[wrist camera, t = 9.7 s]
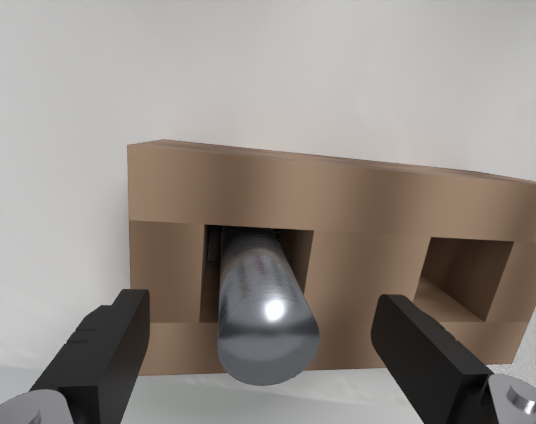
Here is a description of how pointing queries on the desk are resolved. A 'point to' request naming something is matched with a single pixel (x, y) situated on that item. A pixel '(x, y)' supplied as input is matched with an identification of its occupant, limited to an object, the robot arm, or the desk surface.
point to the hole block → (331, 247)
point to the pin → (261, 310)
